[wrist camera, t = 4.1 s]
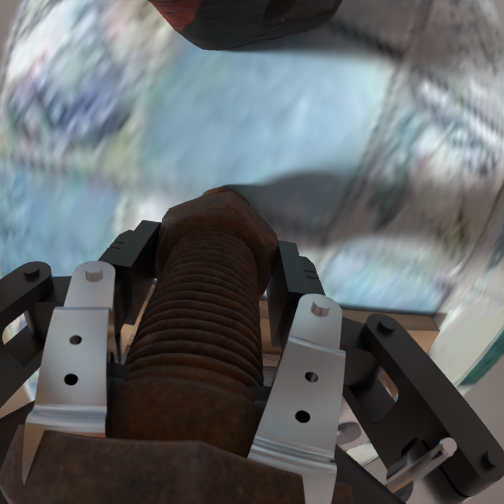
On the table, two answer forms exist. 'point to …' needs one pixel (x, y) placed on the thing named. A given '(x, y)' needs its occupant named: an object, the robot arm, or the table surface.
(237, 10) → the statue
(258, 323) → the bolt
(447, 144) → the table surface
